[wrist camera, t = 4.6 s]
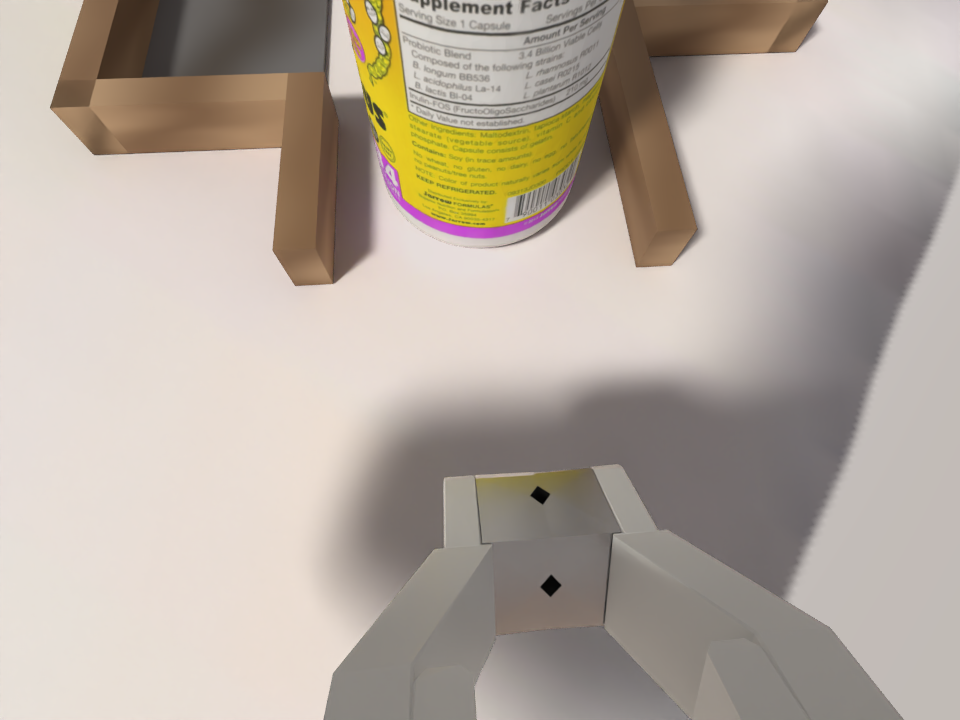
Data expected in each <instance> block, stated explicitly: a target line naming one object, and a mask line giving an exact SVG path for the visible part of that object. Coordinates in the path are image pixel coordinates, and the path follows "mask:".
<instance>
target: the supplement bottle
mask: <svg viewBox="0 0 960 720" xmlns="http://www.w3.org/2000/svg"><path fill="white" fill-rule="evenodd" d="M342 1H343V6H344V10H345V14H346V19H347V23H348V27H349V32H350V36H351V41H352V47H353V51H354V54H355V58H356V63H357V67H358V71H359V76H360V79H361V83H362V89H363V94H364V98H365V103H366V107H367V112H368V116H369V120H370V124H371V128H372V132H373V137H374V141H375V146H376V150H377V154H378V159H379V163H380V167H381V170H382V174H383V177H384V181H385V185H386V188H387V191H388V193H389V195H390V197H391V199H392V201H393V203H394V204H395V206H396V207H397V209H398V210H399V211H400V213H401V214H402V215H403V216H404V217H405V218H406V219H407V220H408V221H409V222H410V223H411V224H412V225H413V226H414V227H416V228H417V229H419V230H420V231H422V232H423V233H425V234H426V235H428V236H430V237H432V238H434V239H437V240H439V241H441V242H444V243H447V244H451V245H454V246H459V247H469V248H487V247H497V246H503V245H507V244H511V243H515V242H517V241H520V240H523V239H525V238H527V237H529V236H531V235H533V234H534V233H536V232H537V231H539V230H540V229H542V228H543V227H544V226H545V225H547V224H548V223H549V222H550V221H551V220H552V219H553V218H554V217H555V216H556V214H557V213H558V212H559V211H560V209H561V208H562V206H563V205H564V203H565V201H566V199H567V197H568V195H569V193H570V190H571V187H572V184H573V181H574V178H575V175H576V171H577V168H578V164H579V161H580V158H581V154H582V150H583V147H584V143H585V140H586V136H587V133H588V129H589V126H590V122H591V119H592V115H593V112H594V108H595V105H596V101H597V98H598V94H599V91H600V87H601V84H602V80H603V77H604V73H605V70H606V66H607V63H608V59H609V56H610V52H611V49H612V45H613V41H614V38H615V34H616V31H617V27H618V23H619V20H620V16H621V13H622V9H623V6H624V3H625V0H342Z"/></svg>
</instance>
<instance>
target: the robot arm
mask: <svg viewBox="0 0 960 720" xmlns="http://www.w3.org/2000/svg"><path fill="white" fill-rule="evenodd" d="M443 498H444V548H439V549H434V550H433V551H432V553H431V554H430V555H429V556H428V558H427V559H426V560H425V561H424V562H423V564H422V565H421V566H420V567H419V569H418V570H417V571H416V572H415V573H414V575H413V576H412V577H411V578H410V580H409V581H408V582H407V583H406V585H405V586H404V587H403V588H402V589H401V591H400V592H399V593H398V594H397V596H396V597H395V598H394V599H393V600H392V602H391V603H390V604H389V605H388V607H387V608H386V609H385V610H384V612H383V613H382V614H381V615H380V616H379V618H378V619H377V620H376V621H375V623H374V624H373V625H372V626H371V627H370V629H369V630H368V631H367V632H366V634H365V635H364V636H363V637H362V639H361V640H360V641H359V642H358V643H357V645H356V646H355V647H354V648H353V650H352V651H351V652H350V653H349V654H348V656H347V657H346V658H345V659H344V661H343V662H342V663H341V664H340V666H339V667H338V668H337V669H336V670H335V672H334V673H333V676H332V681H331V686H330V691H329V696H328V700H327V705H326V710H325V715H324V720H477V719H476V705H475V691H474V686H475V684H476V682H477V679H478V677H479V675H480V673H481V671H482V668H483V666H484V664H485V662H486V660H487V658H488V655H489V653H490V651H491V649H492V647H493V644H494V642H495V640H496V636H497V635H505V634H513V633H521V632H530V631H538V630H546V629H549V628H550V629H560V628H576V627H592V626H604V629H605V630H606V631H607V632H608V633H609V634H610V635H611V636H612V637H613V638H614V639H615V640H616V641H617V642H618V644H619V645H620V646H621V647H622V648H623V649H624V650H625V651H626V652H627V653H628V654H629V655H630V656H631V657H632V658H633V659H634V660H635V661H636V662H637V663H638V664H639V666H640V667H641V668H642V669H643V670H644V671H645V672H646V673H647V674H648V675H649V676H650V677H651V678H652V679H653V680H654V681H655V682H656V683H657V684H658V685H659V686H660V687H661V689H662V690H663V691H664V692H665V693H666V694H667V695H668V696H669V697H670V698H671V699H672V700H673V701H674V702H675V703H676V704H677V705H678V706H679V707H680V708H681V709H682V711H683V712H684V713H685V714H686V715H687V716H688V717H689V718H690V719H691V720H903V718H902V717H901V716H900V714H899V713H898V712H897V711H896V709H895V708H894V707H893V706H892V704H891V703H890V702H889V701H888V700H887V698H886V697H885V696H884V694H883V693H882V692H881V691H880V689H879V688H878V687H877V686H876V684H875V683H874V682H873V681H872V680H871V678H870V677H869V676H868V674H867V673H866V672H865V671H864V669H863V668H862V667H861V666H860V664H859V663H858V662H857V661H856V660H855V658H854V657H853V656H852V654H851V653H850V652H849V651H848V650H847V648H846V647H845V646H844V645H843V643H842V642H841V641H840V639H839V638H838V637H837V636H836V634H835V633H834V632H833V631H832V629H831V628H830V627H828V626H826V625H824V624H823V623H821V622H820V621H818V620H816V619H815V618H813V617H811V616H810V615H808V614H806V613H805V612H803V611H801V610H800V609H798V608H796V607H795V606H793V605H792V604H790V603H788V602H787V601H785V600H783V599H782V598H780V597H778V596H777V595H775V594H773V593H772V592H770V591H768V590H767V589H765V588H763V587H762V586H760V585H759V584H757V583H755V582H754V581H752V580H750V579H749V578H747V577H745V576H744V575H742V574H740V573H739V572H737V571H735V570H734V569H732V568H730V567H729V566H727V565H725V564H724V563H722V562H721V561H719V560H717V559H716V558H714V557H712V556H711V555H709V554H707V553H706V552H704V551H702V550H701V549H699V548H697V547H696V546H694V545H692V544H691V543H689V542H687V541H686V540H684V539H683V538H681V537H679V536H678V535H676V534H674V533H673V532H671V531H669V530H658V528H657V526H656V525H655V523H654V521H653V519H652V518H651V516H650V514H649V512H648V511H647V509H646V507H645V505H644V504H643V502H642V500H641V498H640V497H639V495H638V493H637V491H636V490H635V488H634V486H633V484H632V483H631V481H630V479H629V477H628V476H627V474H626V472H625V470H624V469H623V467H622V466H620V465H619V464H613V465H603V466H594V467H589V468H583V469H571V470H558V471H545V472H523V473H504V474H486V475H475V478H474V476H473V475H470V476H455V477H445V478H444V482H443Z"/></svg>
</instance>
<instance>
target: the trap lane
mask: <svg viewBox="0 0 960 720" xmlns="http://www.w3.org/2000/svg"><path fill="white" fill-rule="evenodd" d="M827 3H828V0H625V3H624V6H623V9H622V13H621V16H620V20H619V23H618V27H617V31H616V34H615V38H614V41H613V45H612V49H611V52H610V56H609V59H608V63H607V66H606V70H605V73H604V77H603V80H602V84H601V87H600V91H599V94H598V95H599V100H600V105H601V109H602V114H603V118H604V123H605V127H606V132H607V136H608V141H609V145H610V150H611V155H612V159H613V164H614V168H615V173H616V177H617V182H618V186H619V191H620V195H621V200H622V205H623V209H624V214H625V218H626V223H627V227H628V232H629V236H630V241H631V245H632V250H633V255H634V259H635V264H636V267H651V266H670V265H672V264H673V263H674V261H675V260H676V258H677V257H678V256H679V254H680V253H681V251H682V250H683V248H684V247H685V246H686V244H687V243H688V241H689V240H690V239H691V237H692V236H693V234H694V233H695V232H696V230H697V226H696V223H695V219H694V216H693V212H692V208H691V205H690V201H689V198H688V194H687V191H686V187H685V183H684V180H683V176H682V173H681V169H680V166H679V162H678V158H677V155H676V151H675V148H674V144H673V141H672V137H671V133H670V130H669V126H668V123H667V119H666V116H665V112H664V108H663V105H662V101H661V98H660V94H659V91H658V87H657V83H656V80H655V76H654V73H653V69H652V66H651V62H650V58H649V56H675V55H706V54H737V53H767V52H796V50H797V49H798V47H799V45H800V44H801V42H802V41H803V39H804V38H805V36H806V35H807V33H808V32H809V30H810V29H811V27H812V26H813V24H814V23H815V21H816V19H817V18H818V16H819V15H820V13H821V12H822V10H823V9H824V7H825V6H826V4H827ZM327 17H328V0H84V1H83V5H82V8H81V11H80V14H79V17H78V20H77V24H76V27H75V30H74V33H73V36H72V40H71V43H70V46H69V49H68V52H67V55H66V59H65V62H64V65H63V68H62V71H61V75H60V78H59V81H58V84H57V87H56V90H55V94H54V97H53V100H52V103H51V106H50V108H51V110H52V111H53V112H54V113H55V114H56V115H57V116H58V117H59V118H60V119H61V120H62V121H63V122H64V123H65V124H66V126H67V127H68V128H69V129H70V130H71V131H72V132H73V133H74V134H75V135H76V136H77V137H78V138H79V139H80V140H81V142H82V143H83V144H84V145H85V146H86V147H87V148H88V149H89V150H90V151H91V152H92V153H93V154H94V155H100V154H125V153H150V152H175V151H199V150H224V149H249V148H274V147H282V148H281V159H280V171H279V182H278V194H277V205H276V217H275V228H274V240H273V252H274V254H275V255H276V257H277V258H278V260H279V261H280V263H281V264H282V266H283V268H284V269H285V271H286V272H287V274H288V275H289V277H290V278H291V280H292V282H293V283H294V285H295V286H301V285H320V284H333V267H334V238H335V209H336V180H337V151H338V122H339V120H338V117H337V113H336V110H335V106H334V103H333V100H332V96H331V93H330V90H329V86H328V83H327V79H326V76H325V57H326V37H327Z"/></svg>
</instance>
